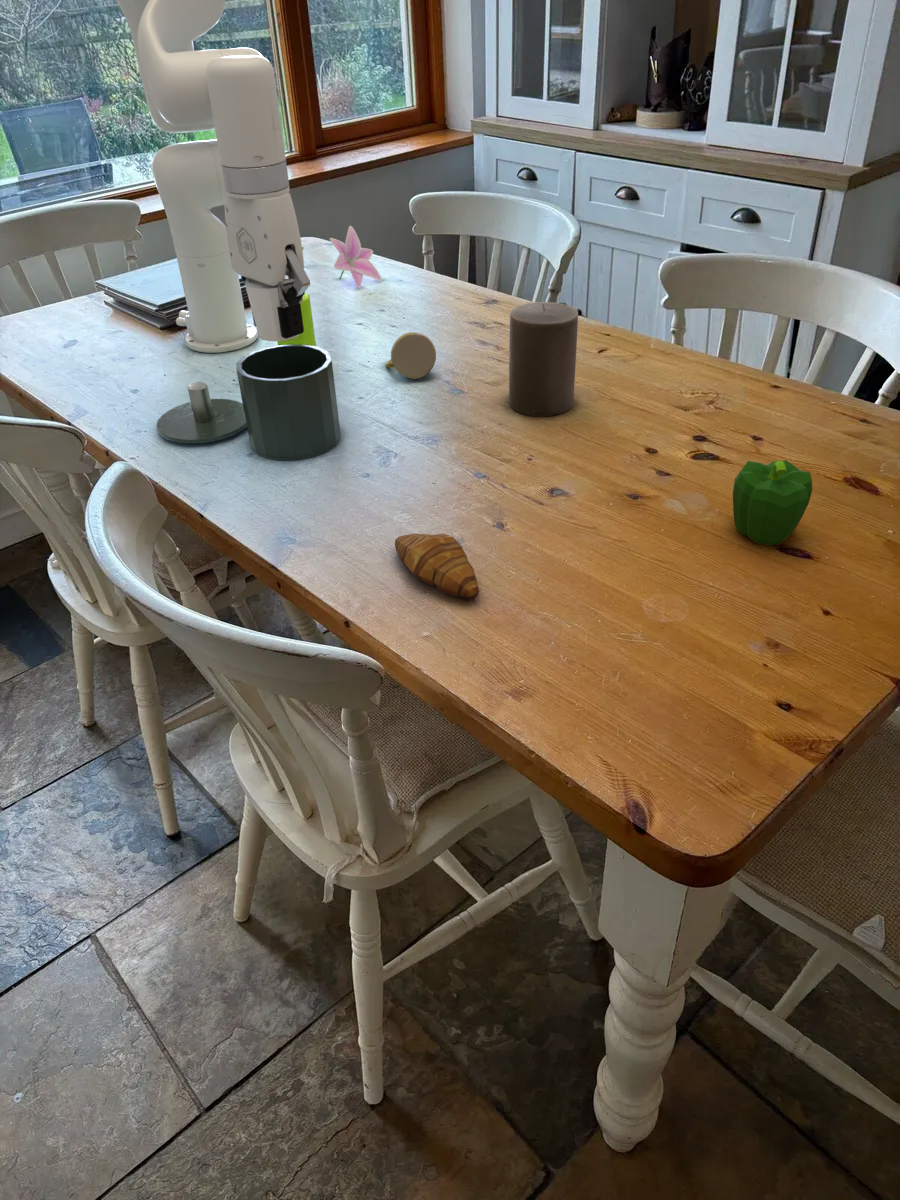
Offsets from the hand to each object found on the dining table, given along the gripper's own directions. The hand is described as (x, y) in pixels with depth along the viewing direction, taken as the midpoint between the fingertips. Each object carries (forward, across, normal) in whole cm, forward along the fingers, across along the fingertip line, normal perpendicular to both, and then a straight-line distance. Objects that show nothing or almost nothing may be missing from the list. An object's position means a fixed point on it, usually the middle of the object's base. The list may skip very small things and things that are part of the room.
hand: (279, 328), depth 114 cm
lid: (+15, -14, -6) cm, 21 cm away
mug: (+16, -6, +28) cm, 33 cm away
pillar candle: (+16, +18, +32) cm, 40 cm away
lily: (+16, -49, +52) cm, 73 cm away
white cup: (+1, 0, 0) cm, 1 cm away
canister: (+16, 0, 0) cm, 16 cm away
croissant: (+16, +38, -10) cm, 43 cm away
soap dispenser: (+16, -17, +14) cm, 27 cm away
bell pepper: (+16, +60, +22) cm, 66 cm away
